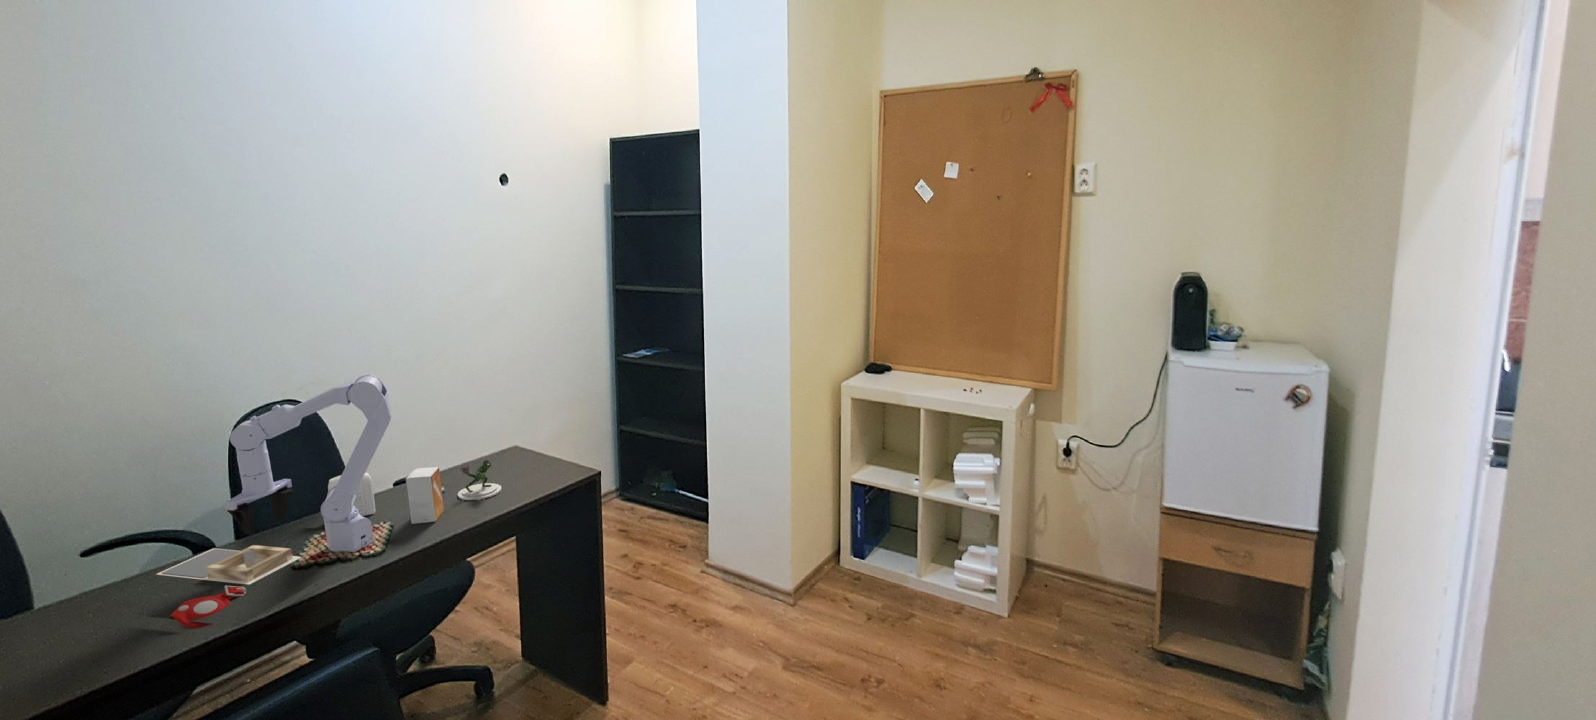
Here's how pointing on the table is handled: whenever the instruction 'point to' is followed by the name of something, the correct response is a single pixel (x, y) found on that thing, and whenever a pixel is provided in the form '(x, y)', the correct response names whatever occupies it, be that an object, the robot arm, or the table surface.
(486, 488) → the monster figurine
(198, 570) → the board
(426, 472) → the small box
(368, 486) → the photo printer
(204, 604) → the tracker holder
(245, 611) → the table surface
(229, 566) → the beige rectangular frame
